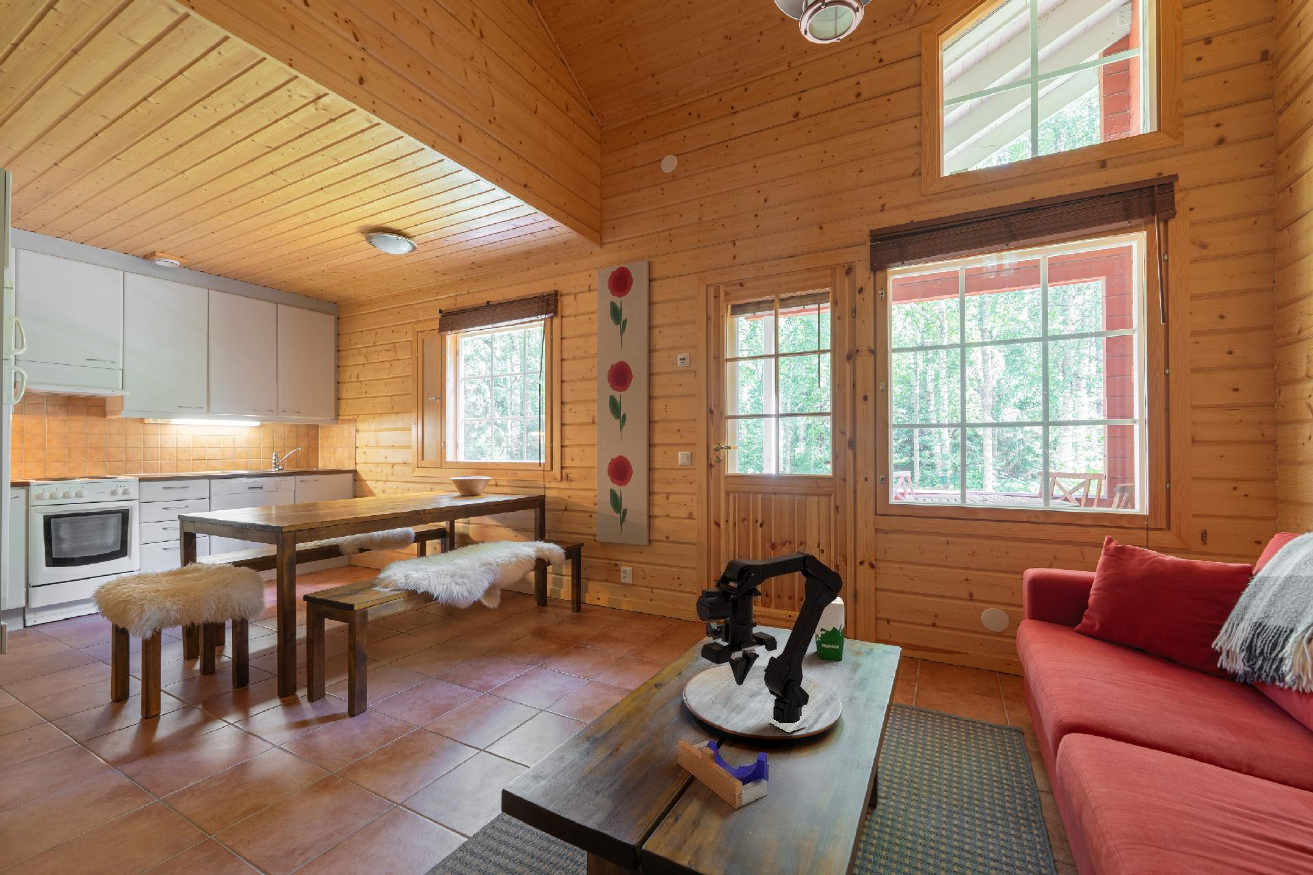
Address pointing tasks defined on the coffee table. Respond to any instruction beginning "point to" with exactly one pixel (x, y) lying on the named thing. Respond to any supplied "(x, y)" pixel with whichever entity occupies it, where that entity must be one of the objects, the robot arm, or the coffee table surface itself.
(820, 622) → the milk carton
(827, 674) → the coffee table surface
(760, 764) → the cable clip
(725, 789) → the keeper
